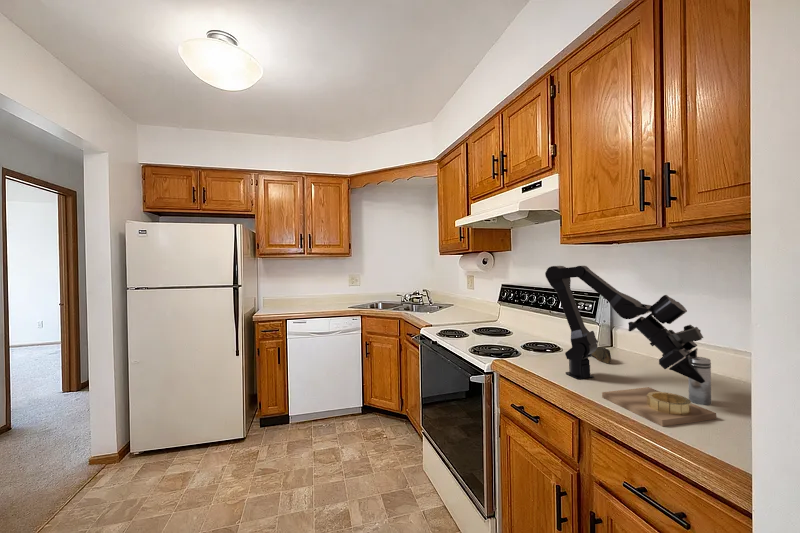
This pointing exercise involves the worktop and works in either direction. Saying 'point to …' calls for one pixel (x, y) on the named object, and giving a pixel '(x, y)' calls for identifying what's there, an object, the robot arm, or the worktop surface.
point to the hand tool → (602, 355)
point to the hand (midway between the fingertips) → (706, 379)
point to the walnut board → (638, 404)
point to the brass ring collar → (669, 403)
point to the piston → (700, 391)
